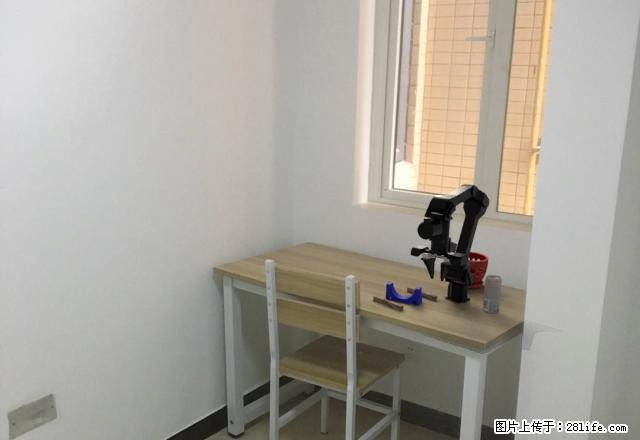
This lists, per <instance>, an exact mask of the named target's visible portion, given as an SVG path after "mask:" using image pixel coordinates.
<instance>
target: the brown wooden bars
mask: <svg viewBox="0 0 640 440" xmlns="http://www.w3.org/2000/svg"><path fill="white" fill-rule="evenodd" d="M415 288H416V287H413V286H407V288H406V291H407V292H409V293H412V294H414V292H415ZM421 294H422V298H426V299H429V300H431V301H434V302H435V301H438V295H436V294H432V293H431V292H427V291H426V290H425V291H424V290H422V292H421ZM372 300H373V301H374V302H376V303H380V304H382V305H384V306H387V307H390V308H393V309H395V310H397V311H404V305H402V304H400V303H399V302H396V301H391V300H387V299H386V297H383V296H379V295H373V297H372Z"/></svg>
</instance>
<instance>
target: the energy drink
mask: <svg viewBox="0 0 640 440" xmlns="http://www.w3.org/2000/svg"><path fill="white" fill-rule="evenodd" d="M484 281H485V282H484V288H483V289H484V291H483V303H482V310H483V312H484V313H488V314H498V313H499V312H500V306H501V304H500V303H501V295H502V294H501V293H502V283H503V279H502V277H501V276H499V275H496V274H495V275H494V274H488V275H485V277H484Z"/></svg>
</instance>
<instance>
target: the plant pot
mask: <svg viewBox="0 0 640 440" xmlns="http://www.w3.org/2000/svg"><path fill="white" fill-rule="evenodd" d="M453 254H455V253H453ZM468 259H469V262H470V266H471V268H470V272H471V274H472V276H473V278H474V279H473V284H472V286H468V289H478V288H481V287H482V286H483V285H484V281H483V279H485V277H486V273H487V270H488V265H489V257H488V256H487V255H485V254H483V253H479V252H476V251H470V254H469V257H468Z"/></svg>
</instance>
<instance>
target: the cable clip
mask: <svg viewBox="0 0 640 440" xmlns="http://www.w3.org/2000/svg"><path fill="white" fill-rule="evenodd" d="M414 288H415V292H414V293H412V294H410V295H408V294H407V295H405V296H404V295H402V294H400V293H398V292H397V290H396V289H395V286H394V282H393V281H388V282H387V283H386V285H385V299H387V300H390V301H393V302H395V303H402V304H407V305H408V304H409V305H414V306H420V304H422V302H423V296H422V294H421V292H422V291H423V288H422V286H416V287H414Z"/></svg>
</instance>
